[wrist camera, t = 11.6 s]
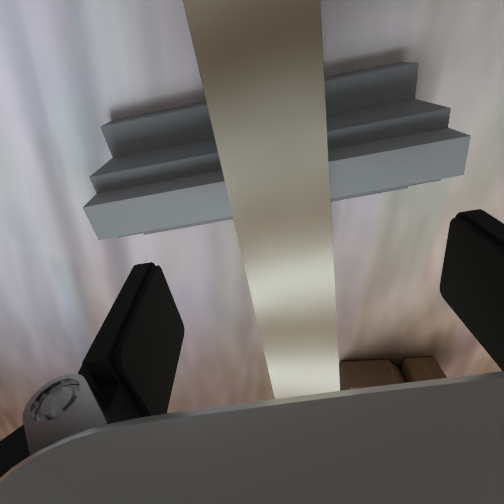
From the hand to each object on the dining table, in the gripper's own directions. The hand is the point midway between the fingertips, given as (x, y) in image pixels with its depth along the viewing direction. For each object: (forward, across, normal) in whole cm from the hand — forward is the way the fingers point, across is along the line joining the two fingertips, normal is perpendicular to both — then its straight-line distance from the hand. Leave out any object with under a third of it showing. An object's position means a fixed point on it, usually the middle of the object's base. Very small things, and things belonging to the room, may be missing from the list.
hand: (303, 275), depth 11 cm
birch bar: (+7, 0, 0) cm, 8 cm away
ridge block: (+15, +1, 0) cm, 15 cm away
